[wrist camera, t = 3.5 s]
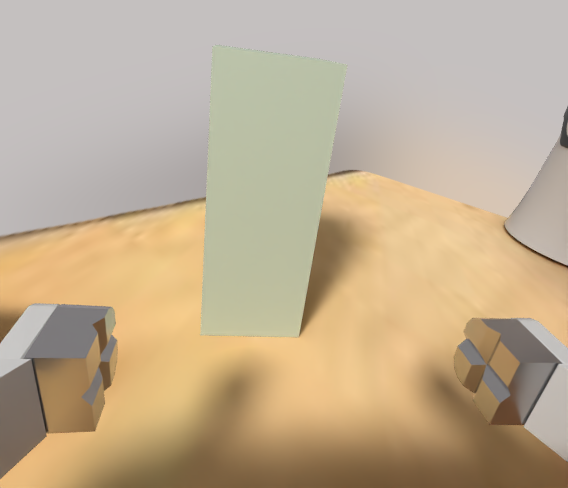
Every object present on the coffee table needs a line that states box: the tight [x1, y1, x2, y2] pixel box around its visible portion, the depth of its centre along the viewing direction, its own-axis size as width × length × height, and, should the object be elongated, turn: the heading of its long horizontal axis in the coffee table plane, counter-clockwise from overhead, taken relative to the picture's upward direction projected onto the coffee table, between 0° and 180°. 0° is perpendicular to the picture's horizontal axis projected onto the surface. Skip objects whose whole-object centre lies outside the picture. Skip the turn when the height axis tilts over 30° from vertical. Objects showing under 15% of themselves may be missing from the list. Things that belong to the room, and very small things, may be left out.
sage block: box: [200, 45, 347, 337], centre depth 20 cm, size 5×5×13 cm
